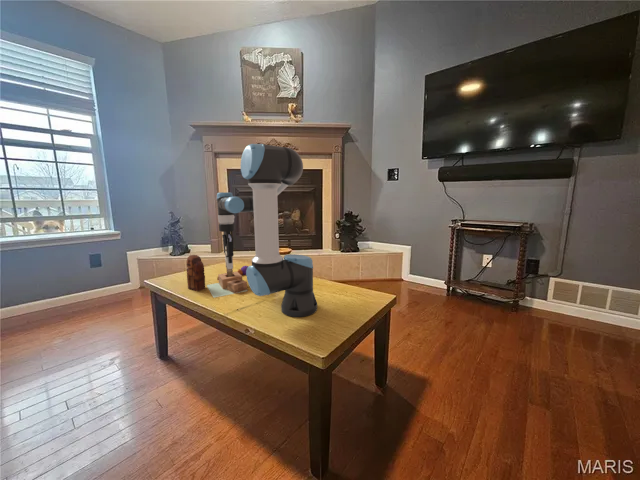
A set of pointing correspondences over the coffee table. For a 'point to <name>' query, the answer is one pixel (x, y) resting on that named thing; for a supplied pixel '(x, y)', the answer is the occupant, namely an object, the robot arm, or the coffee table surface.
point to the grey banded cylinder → (230, 271)
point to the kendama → (241, 271)
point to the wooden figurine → (195, 273)
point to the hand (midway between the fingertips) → (229, 267)
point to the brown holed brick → (237, 285)
